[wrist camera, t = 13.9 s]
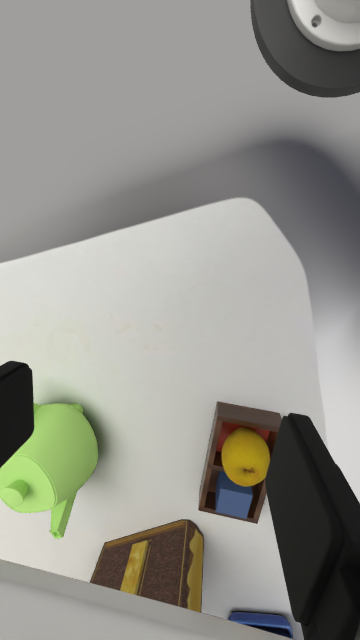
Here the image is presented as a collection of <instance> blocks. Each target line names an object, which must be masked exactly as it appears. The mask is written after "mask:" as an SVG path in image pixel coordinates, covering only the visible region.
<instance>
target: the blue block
mask: <svg viewBox="0 0 360 640" xmlns="http://www.w3.org/2000/svg"><path fill="white" fill-rule="evenodd" d="M252 497H253V494H252V487H251V486H248V487H247V486H241V485H238V484H236V483H234V482H233V481H232V480H230V478H229V477H228V476H227V474H226V472H223V471H219V472H218V476H217V481H216V512H218V513H222V514H226V515H231V516H235V517H240V518H244V519H246V518H247V515H248V511H249V508H250V504H251V500H252Z"/></svg>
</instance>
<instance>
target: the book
mask: <svg viewBox="0 0 360 640" xmlns="http://www.w3.org/2000/svg"><path fill="white" fill-rule="evenodd" d="M203 552H204V538H203V534H202V533H201V531H200V530H199V528H198V527H197V525H196V524H195V523H193V522H192V521H190V520H179V521H176V522H172V523H169V524H166V525H163V526H159V527H156V528H153V529H149V530H146V531H143V532H139V533H136V534H133V535H129V536H126V537H123V538H119V539H116V540H113V541H109V542H106V543H104V546H103V548H102V551H101V554H100V556H99V559H98V562H97V564H96V567H95V570H94V572H93V575H92V578H91V580H90V583H92V584H96V585H100V586H104V587H107V588H111V589H115V590H119V591H122V592H126V593H130V594H134V595H137V596H141V597H145V598H148V599H152V600H156V601H159V602H163V603H167V604H171V605H174V606H178V607H182V608H185V609H189V610H193V611H197V612H200V613H201V605H202V578H203Z"/></svg>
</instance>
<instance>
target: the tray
mask: <svg viewBox="0 0 360 640" xmlns="http://www.w3.org/2000/svg"><path fill="white" fill-rule="evenodd" d="M281 421H282V419H281V417H280V414H279V413H275V412H270V411H264V410H259V409H254V408H248V407H243V406H238V405H232V404H227V403H222V402H217V405H216V410H215V415H214V420H213V425H212V430H211V435H210V440H209V445H208V450H207V456H206V461H205V466H204V471H203V476H202V481H201V486H200V491H199V507H198V510H199V511H204V512H208V513H212V514H217V515H221V516H226V517H230V518H234V519H239V520H243V521H248V522H252V523H256V524H257V523H258V520H259V516H260V513H261V510H262V506H263V503H264V499H265V496H266V493H267V492H266V486H265V479H266V477H265V478H264V479H263V480H262V481H261V482H259V483H257V484H255V485H252V486H251V487H252V494H253V497H252V500H251V504H250V508H249V511H248V515H247V518H246V519H244V518H240V517H235V516H231V515H226V514H222V513H218V512H216V481H217V476H218V472H219V471H223V472H225V470H224V468H223V464H222V448H223V445H224V442H225V440H226V439H227V437H228V436H229V435H230V434H231V433H232V432H233V431H235V430H236V429H238V428H240V427H244V428H250V429H252V430H254V431H256V432H257V433H258V434H259V435H260V436H261V437H262V438H263V439H264V441H265V442H266V444H267V446H268V449H269V454H270V460H271V456H272V453H273V449H274V446H275V442H276V439H277V435H278V432H279V428H280V425H281Z"/></svg>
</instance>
